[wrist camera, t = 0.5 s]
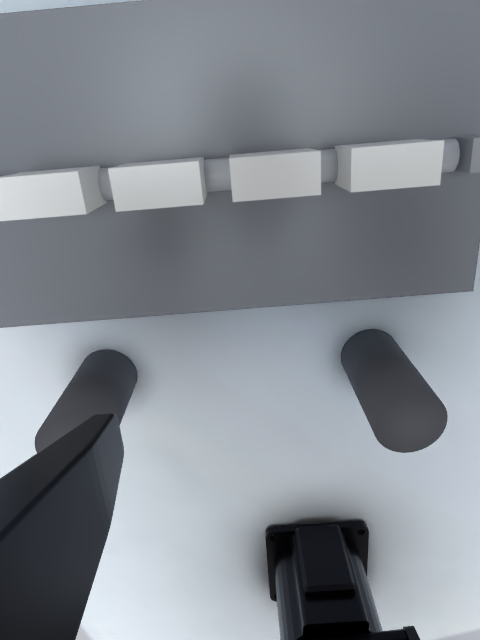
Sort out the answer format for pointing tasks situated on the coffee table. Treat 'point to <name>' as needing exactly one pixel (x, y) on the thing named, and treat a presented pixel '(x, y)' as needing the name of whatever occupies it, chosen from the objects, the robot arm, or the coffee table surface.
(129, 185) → the breaker paddles
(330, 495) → the coffee table surface
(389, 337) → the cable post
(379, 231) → the breaker panel
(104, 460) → the robot arm
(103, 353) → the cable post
